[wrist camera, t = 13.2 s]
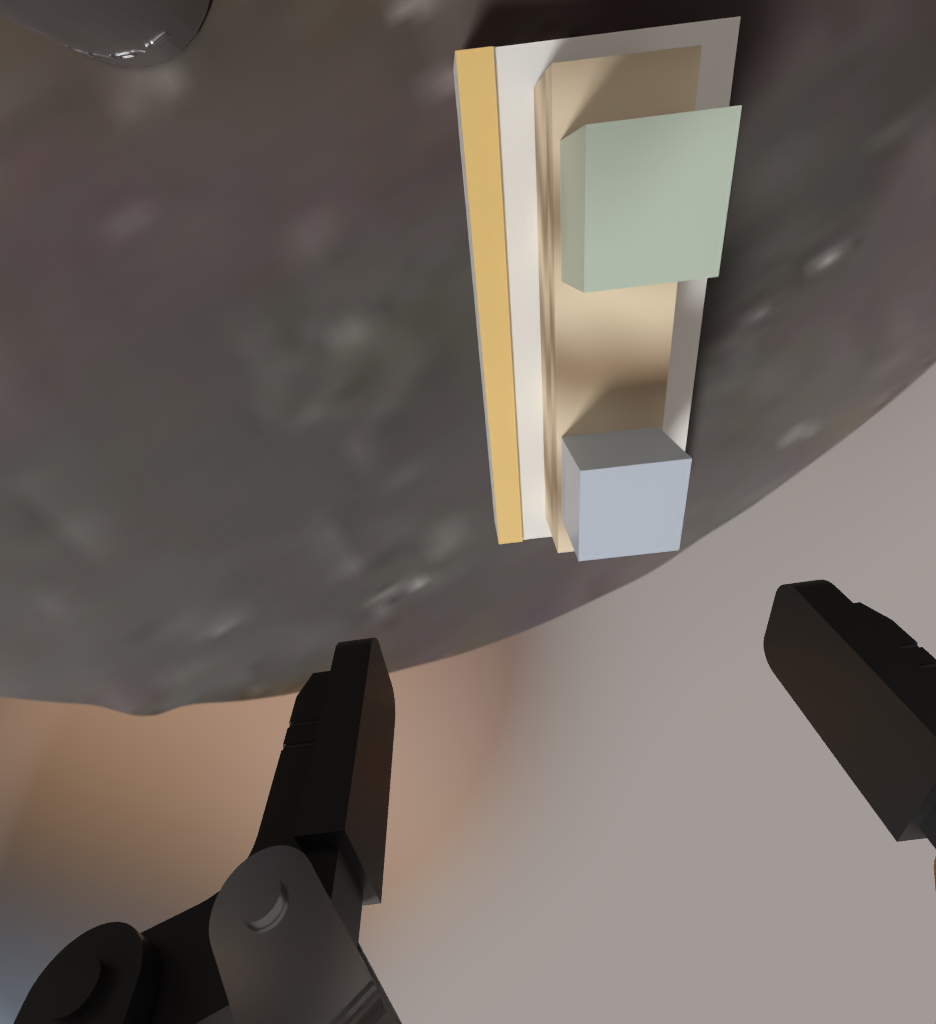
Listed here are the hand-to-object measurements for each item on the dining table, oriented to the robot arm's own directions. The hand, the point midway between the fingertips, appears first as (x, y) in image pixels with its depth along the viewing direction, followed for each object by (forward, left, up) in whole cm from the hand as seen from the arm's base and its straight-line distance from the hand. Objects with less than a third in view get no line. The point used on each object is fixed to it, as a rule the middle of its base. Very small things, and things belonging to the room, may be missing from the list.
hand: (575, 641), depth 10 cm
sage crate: (-7, +6, -17) cm, 19 cm away
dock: (-1, +6, -24) cm, 24 cm away
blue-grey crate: (+5, +6, -17) cm, 18 cm away
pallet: (-1, +6, -21) cm, 21 cm away
